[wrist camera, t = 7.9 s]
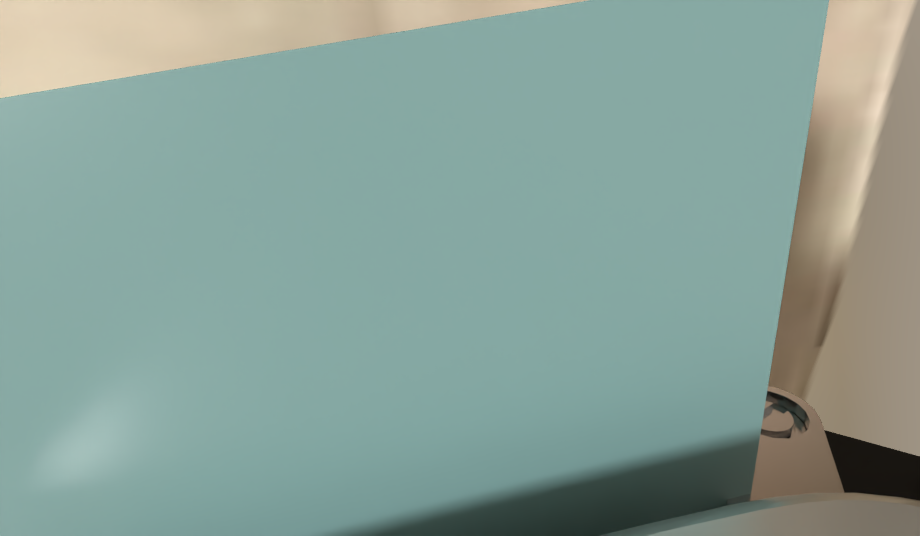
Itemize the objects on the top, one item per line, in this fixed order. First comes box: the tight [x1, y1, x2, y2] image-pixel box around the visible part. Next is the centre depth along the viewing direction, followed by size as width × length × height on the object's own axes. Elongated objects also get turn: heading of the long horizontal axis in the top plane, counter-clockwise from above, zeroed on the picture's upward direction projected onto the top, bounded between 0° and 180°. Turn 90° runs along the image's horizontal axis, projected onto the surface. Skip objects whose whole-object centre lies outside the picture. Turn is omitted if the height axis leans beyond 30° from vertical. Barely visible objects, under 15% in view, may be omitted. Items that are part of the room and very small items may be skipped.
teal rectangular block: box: [0, 0, 829, 536], centre depth 9 cm, size 13×8×8 cm, turn 9°
